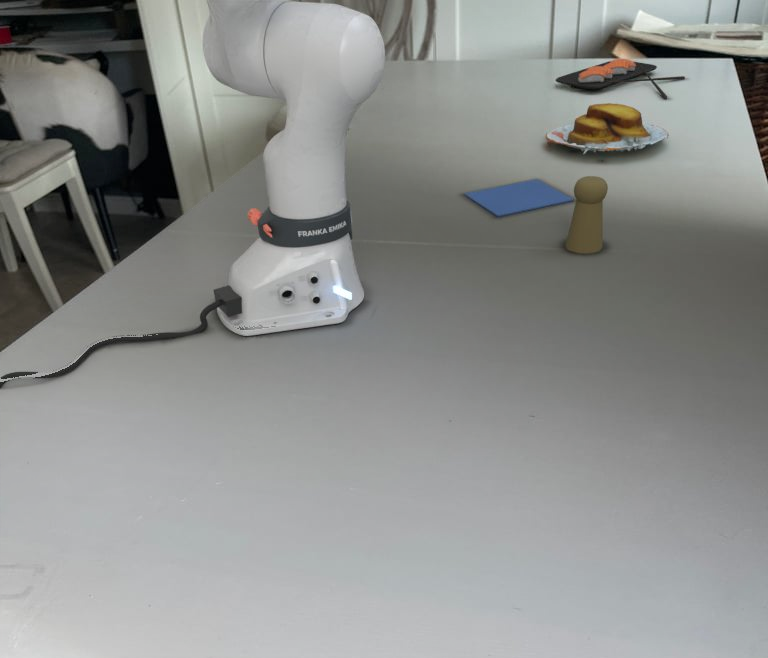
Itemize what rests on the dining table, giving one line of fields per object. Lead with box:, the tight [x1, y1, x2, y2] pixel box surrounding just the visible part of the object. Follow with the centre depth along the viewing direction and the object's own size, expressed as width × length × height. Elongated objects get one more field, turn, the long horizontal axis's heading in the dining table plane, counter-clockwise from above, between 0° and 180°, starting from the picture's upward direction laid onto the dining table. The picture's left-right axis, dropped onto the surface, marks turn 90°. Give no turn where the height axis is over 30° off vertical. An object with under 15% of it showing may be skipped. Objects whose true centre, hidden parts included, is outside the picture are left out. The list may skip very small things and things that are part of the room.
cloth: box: [464, 178, 574, 218], centre depth 152 cm, size 16×13×1 cm
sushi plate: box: [555, 58, 686, 100], centre depth 210 cm, size 29×30×4 cm
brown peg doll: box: [565, 175, 609, 255], centre depth 131 cm, size 6×6×11 cm
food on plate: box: [545, 102, 670, 162], centre depth 172 cm, size 25×25×7 cm
